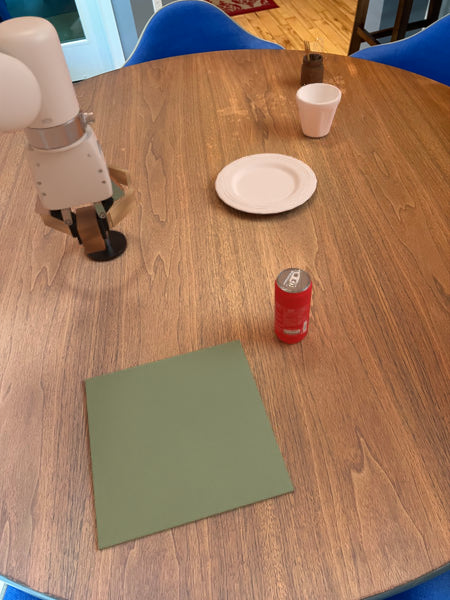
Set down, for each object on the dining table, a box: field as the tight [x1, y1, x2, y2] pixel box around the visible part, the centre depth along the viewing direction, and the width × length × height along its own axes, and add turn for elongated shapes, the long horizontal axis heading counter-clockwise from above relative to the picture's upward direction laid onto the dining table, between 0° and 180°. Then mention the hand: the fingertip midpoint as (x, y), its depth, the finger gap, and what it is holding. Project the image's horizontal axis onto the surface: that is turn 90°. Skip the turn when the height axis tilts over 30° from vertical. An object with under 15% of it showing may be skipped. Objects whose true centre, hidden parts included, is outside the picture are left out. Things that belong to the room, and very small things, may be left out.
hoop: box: [39, 163, 138, 255], centre depth 80 cm, size 16×21×5 cm
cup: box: [295, 82, 342, 139], centre depth 109 cm, size 10×10×9 cm
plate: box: [214, 152, 318, 216], centre depth 99 cm, size 21×21×2 cm
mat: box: [84, 338, 295, 551], centre depth 65 cm, size 24×24×1 cm
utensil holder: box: [300, 37, 325, 87], centre depth 124 cm, size 6×6×12 cm
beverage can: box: [273, 267, 313, 345], centre depth 70 cm, size 5×5×12 cm
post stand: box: [84, 229, 128, 262], centre depth 88 cm, size 8×8×9 cm
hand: (92, 235), depth 75 cm, fingers closed on hoop, 3 cm apart
